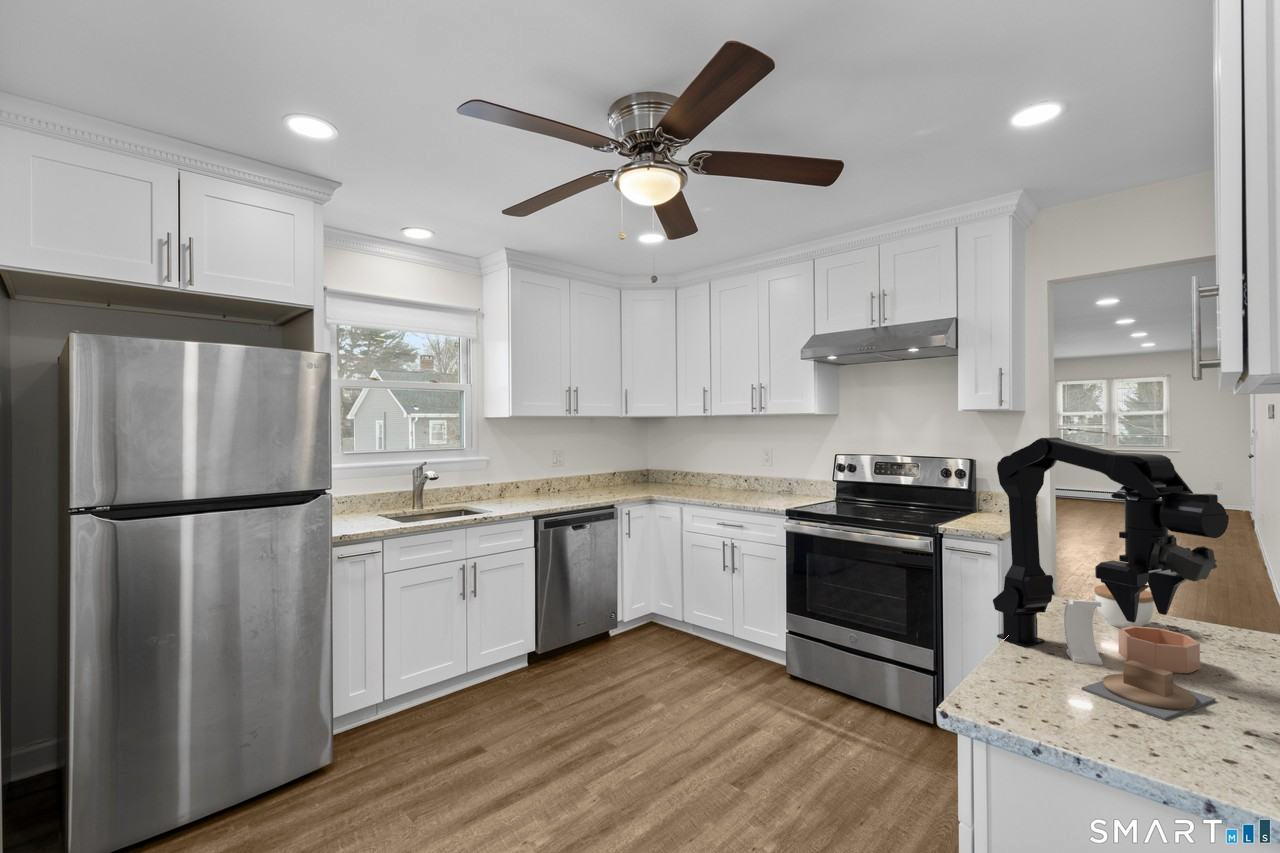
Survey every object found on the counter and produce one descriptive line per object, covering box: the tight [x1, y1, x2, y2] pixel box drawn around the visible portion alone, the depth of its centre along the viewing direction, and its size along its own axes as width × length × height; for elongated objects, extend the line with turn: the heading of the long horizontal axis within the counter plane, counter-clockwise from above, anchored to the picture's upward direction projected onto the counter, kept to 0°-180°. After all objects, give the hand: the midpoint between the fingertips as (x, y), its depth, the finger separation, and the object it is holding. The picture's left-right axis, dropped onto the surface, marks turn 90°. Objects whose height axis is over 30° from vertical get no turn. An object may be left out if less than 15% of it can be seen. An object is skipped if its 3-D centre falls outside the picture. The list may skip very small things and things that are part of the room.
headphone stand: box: [1063, 598, 1103, 666], centre depth 118 cm, size 5×6×12 cm
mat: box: [1081, 680, 1216, 721], centre depth 102 cm, size 15×12×1 cm
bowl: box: [1117, 626, 1201, 674], centre depth 115 cm, size 11×11×5 cm
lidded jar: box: [1094, 584, 1155, 629], centre depth 136 cm, size 11×11×9 cm
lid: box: [1102, 660, 1196, 710], centre depth 102 cm, size 12×12×4 cm
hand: (1147, 617), depth 103 cm, fingers open, 9 cm apart
